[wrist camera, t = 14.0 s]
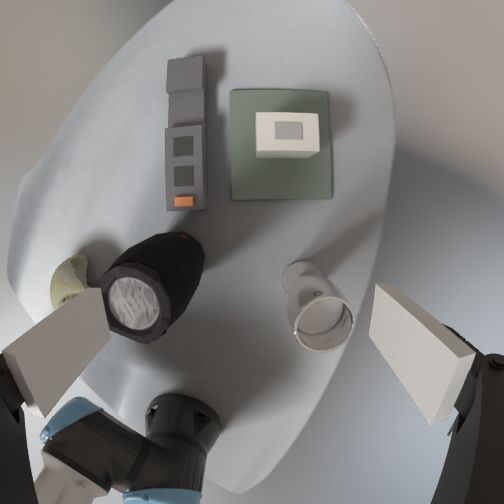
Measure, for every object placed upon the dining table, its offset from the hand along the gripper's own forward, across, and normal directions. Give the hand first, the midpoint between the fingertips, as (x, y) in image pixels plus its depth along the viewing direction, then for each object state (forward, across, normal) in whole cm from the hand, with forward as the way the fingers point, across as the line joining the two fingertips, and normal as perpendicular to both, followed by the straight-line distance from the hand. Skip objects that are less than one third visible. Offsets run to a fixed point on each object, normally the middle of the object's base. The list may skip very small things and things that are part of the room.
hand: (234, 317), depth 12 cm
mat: (+29, -5, -12) cm, 32 cm away
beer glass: (+29, -8, +8) cm, 31 cm away
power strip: (+29, +8, -14) cm, 33 cm away
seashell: (+29, +28, +9) cm, 42 cm away
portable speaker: (+29, +10, +4) cm, 31 cm away
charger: (+28, -5, -12) cm, 31 cm away
